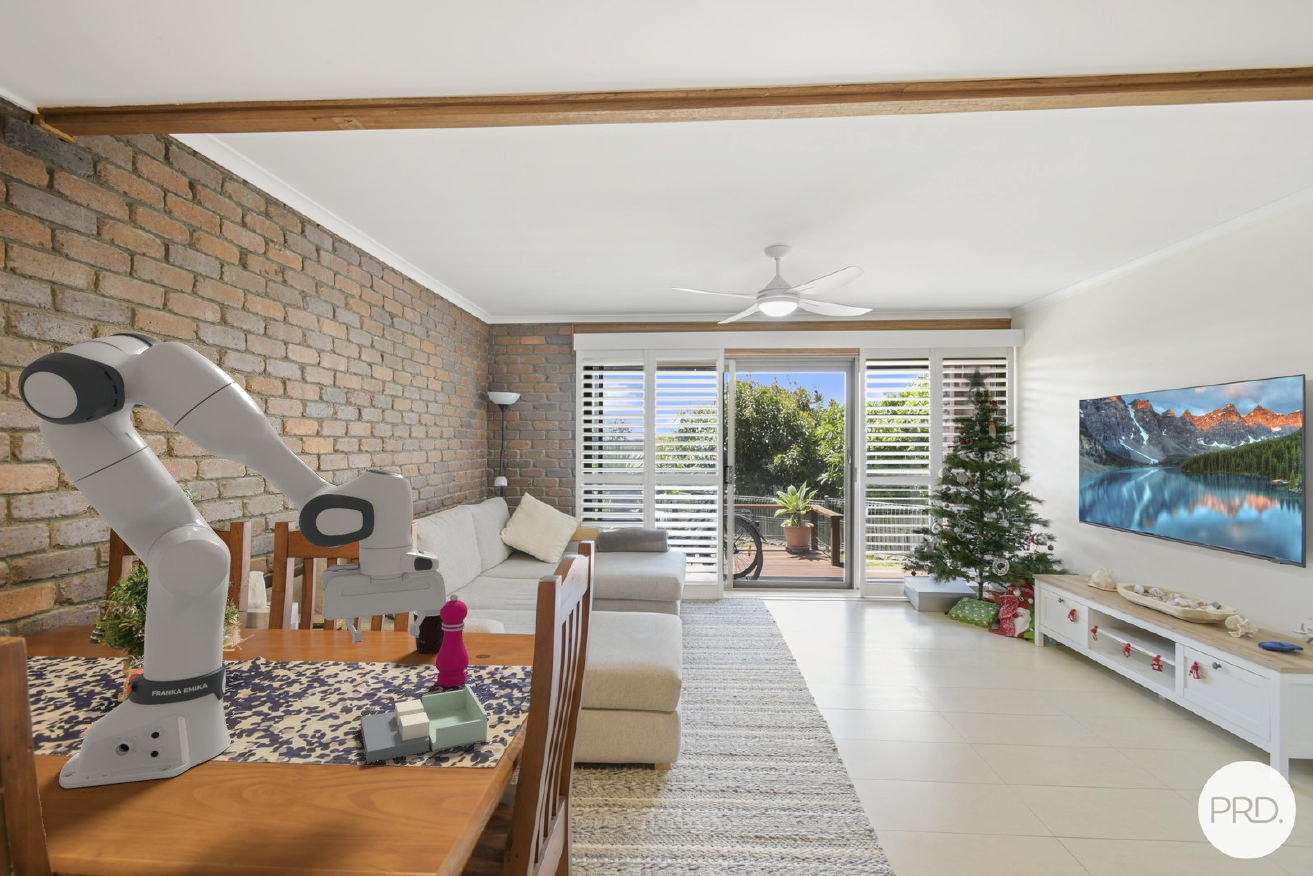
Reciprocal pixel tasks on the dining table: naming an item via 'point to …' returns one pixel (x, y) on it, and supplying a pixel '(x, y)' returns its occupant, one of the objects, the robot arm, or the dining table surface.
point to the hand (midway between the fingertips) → (385, 638)
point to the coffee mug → (430, 632)
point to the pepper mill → (452, 644)
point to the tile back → (408, 708)
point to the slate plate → (388, 738)
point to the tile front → (414, 726)
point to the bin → (455, 719)
